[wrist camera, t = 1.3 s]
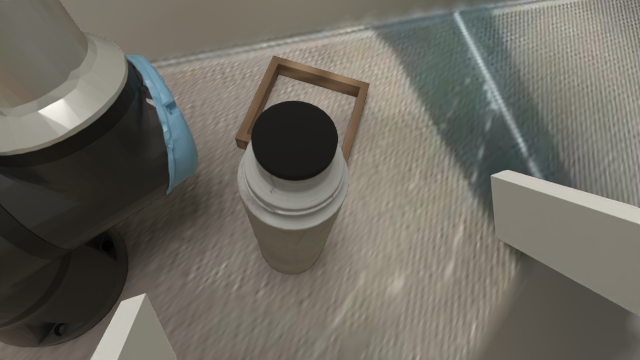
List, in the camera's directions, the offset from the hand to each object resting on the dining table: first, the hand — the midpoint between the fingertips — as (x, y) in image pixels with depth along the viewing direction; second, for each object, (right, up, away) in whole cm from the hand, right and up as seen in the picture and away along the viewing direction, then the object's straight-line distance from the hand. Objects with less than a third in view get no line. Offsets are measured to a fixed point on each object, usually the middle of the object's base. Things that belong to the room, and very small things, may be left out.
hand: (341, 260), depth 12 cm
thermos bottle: (-4, -5, +32) cm, 33 cm away
